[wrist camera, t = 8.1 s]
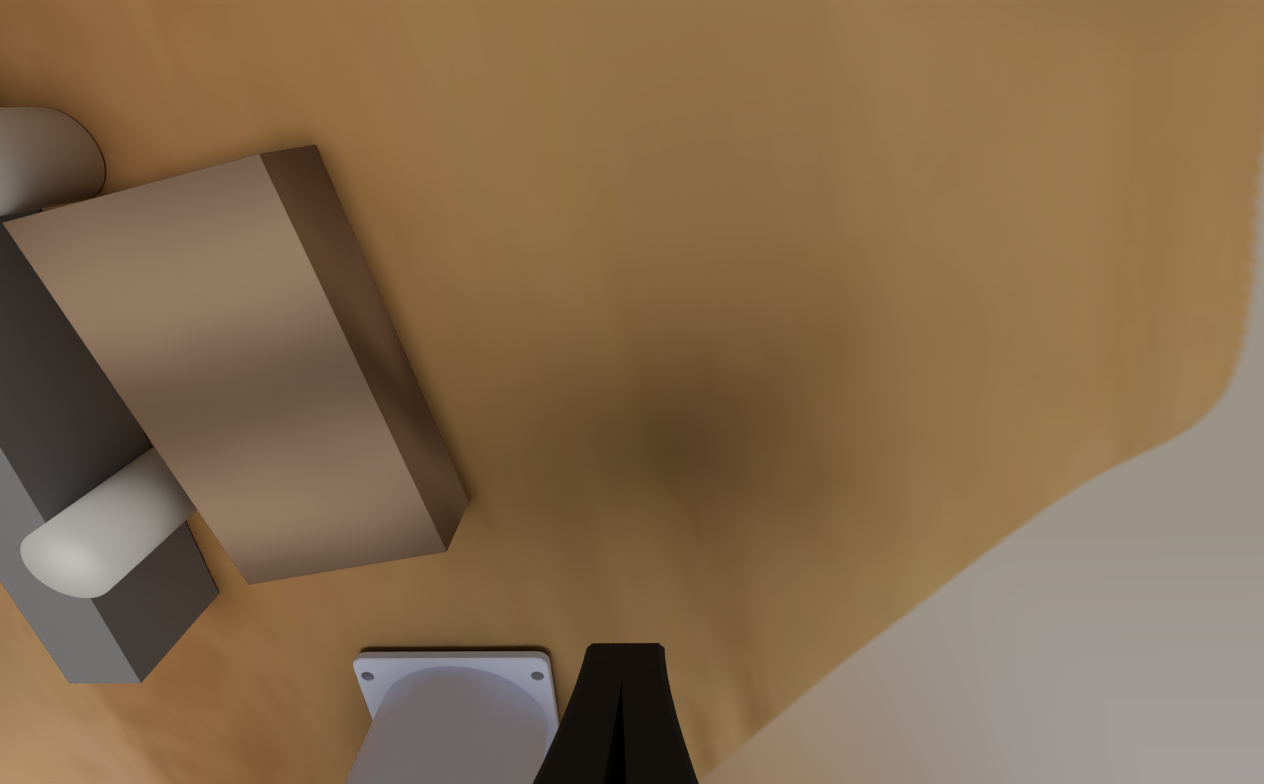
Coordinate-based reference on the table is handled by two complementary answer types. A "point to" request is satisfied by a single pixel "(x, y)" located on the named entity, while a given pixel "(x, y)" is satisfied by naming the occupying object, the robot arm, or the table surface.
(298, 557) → the brown rectangular block
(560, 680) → the table surface
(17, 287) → the bench dog bar
